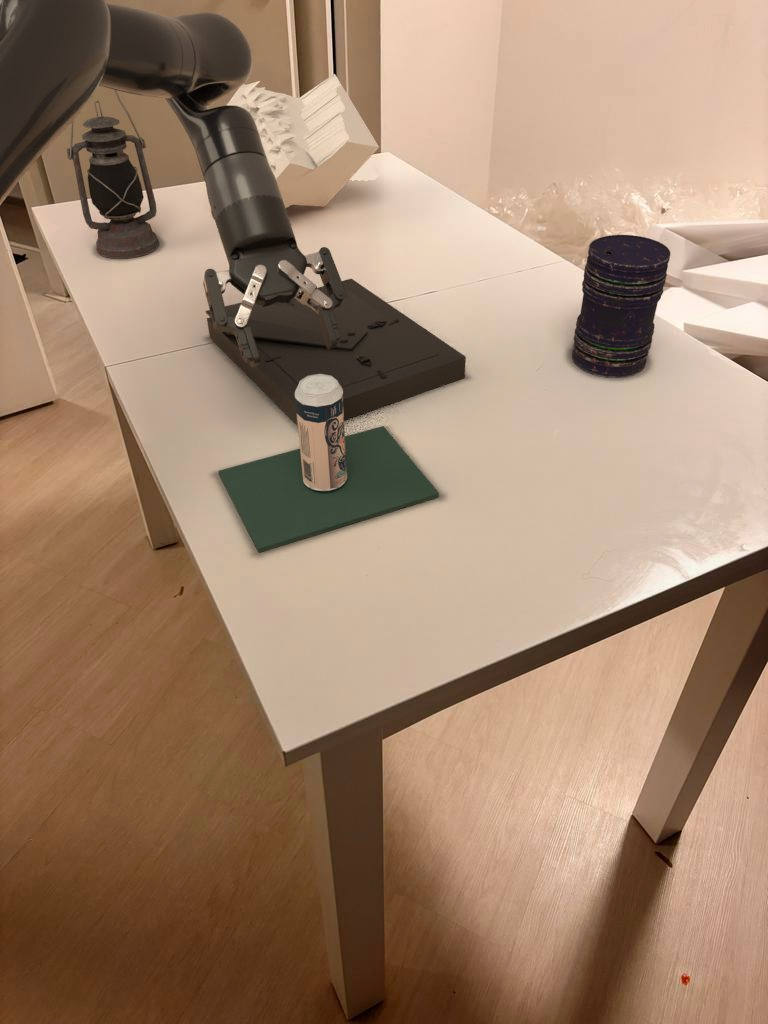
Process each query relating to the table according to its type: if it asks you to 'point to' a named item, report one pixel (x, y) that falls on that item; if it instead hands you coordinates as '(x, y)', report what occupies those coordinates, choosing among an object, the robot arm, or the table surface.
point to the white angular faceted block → (309, 139)
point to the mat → (307, 512)
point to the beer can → (321, 432)
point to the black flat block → (343, 352)
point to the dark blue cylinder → (619, 304)
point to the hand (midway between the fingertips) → (295, 355)
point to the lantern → (115, 188)
